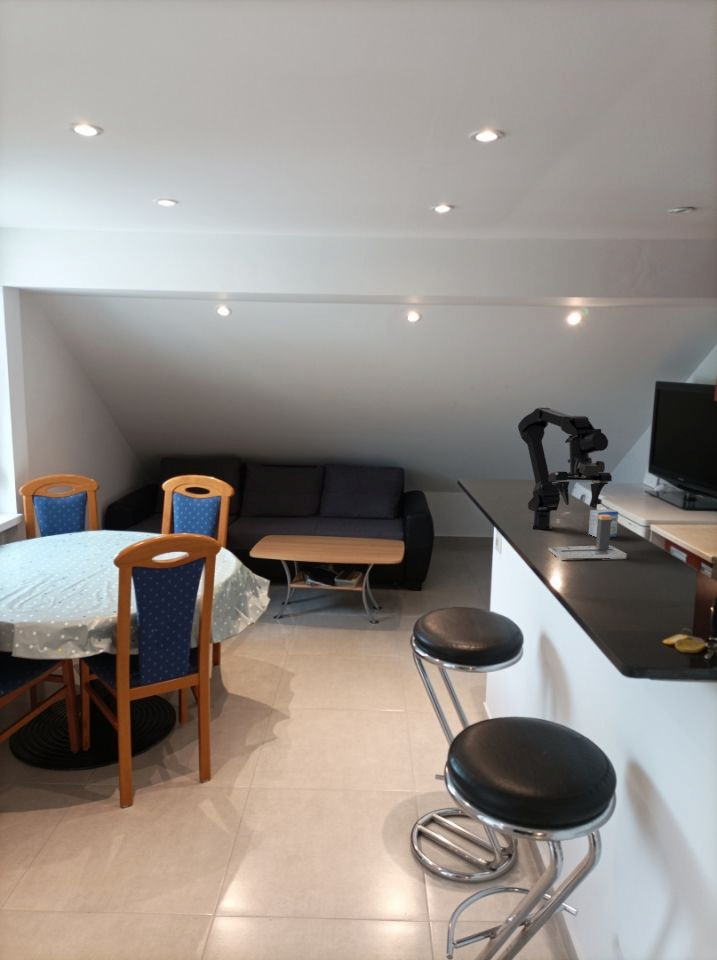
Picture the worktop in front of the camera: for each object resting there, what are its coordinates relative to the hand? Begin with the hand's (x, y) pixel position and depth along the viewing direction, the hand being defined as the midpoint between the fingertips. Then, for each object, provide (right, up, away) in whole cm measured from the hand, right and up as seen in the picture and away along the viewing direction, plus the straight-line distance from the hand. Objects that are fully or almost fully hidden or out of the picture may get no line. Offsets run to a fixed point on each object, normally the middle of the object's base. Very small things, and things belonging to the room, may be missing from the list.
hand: (581, 505), depth 202 cm
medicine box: (+12, -11, +13) cm, 21 cm away
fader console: (-2, -15, -10) cm, 18 cm away
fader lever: (+3, -13, -9) cm, 16 cm away
